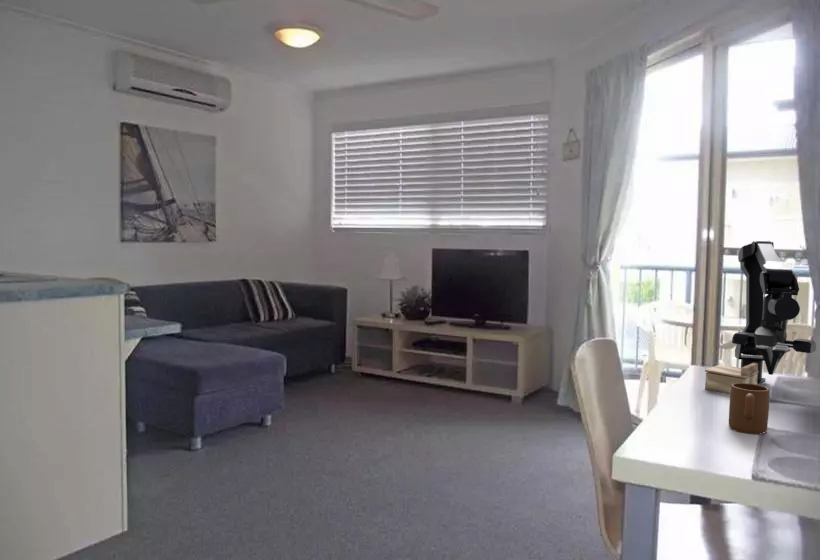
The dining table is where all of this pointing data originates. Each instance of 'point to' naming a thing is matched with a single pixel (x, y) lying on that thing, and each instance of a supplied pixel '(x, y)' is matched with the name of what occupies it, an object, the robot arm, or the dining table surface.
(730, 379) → the wooden box
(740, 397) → the mug
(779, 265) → the robot arm
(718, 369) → the lid
